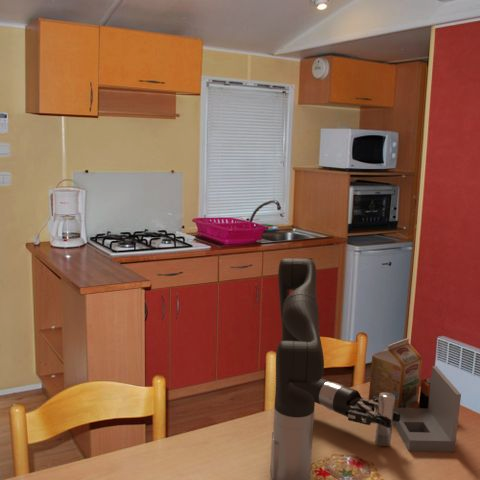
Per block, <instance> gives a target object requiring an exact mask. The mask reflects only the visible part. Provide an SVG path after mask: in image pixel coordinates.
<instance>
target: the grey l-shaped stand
mask: <svg viewBox="0 0 480 480" xmlns="http://www.w3.org/2000/svg"><path fill="white" fill-rule="evenodd" d="M430 379H431V384H430V394H429V403H428V409H425V408H419V407H418V408H417V407H414V408H413V407H407V408H394V412H397V413H399V414H400V421H399V422H396V421H393V426H394V427H395V429H396V431H397V432H398V434H399V436H400V438H401V440H402V442H403V443H404V446H405V447H406V449H407V450H408V452H434V453H435V452H437V453H438V452H440V453H441V452H442V453H443V452H444V453H445V452H446V453H455V451H456V443H457V442H456V441H457V433H458V426H459V425H458V423H459V416H460V415H459V414H460V409H461V407H460V405H461V401H462V400H461V397H462V393H461V392H460V391H459V390H458V389H457V388H456V387H455V386H454V385H453V384H452V382H451V381H450V380H449V379H448V378H447V377H446V376H445V374H444V373H443V372H442V370H440V368H439V367H438V366H435V365H433V366H432V368H431V377H430Z"/></svg>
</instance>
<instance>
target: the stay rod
mask: <svg viewBox="0 0 480 480" xmlns="http://www.w3.org/2000/svg"><path fill="white" fill-rule="evenodd" d="M394 404H395V396H394V395H393V394H391V393H387V392H383V393H380V394H379V404H378V415H381V416H384V417H386V418H389V419H391V427H389V428H387V427H385V426H382V425H380V424H378V423H376V426H375V427H376V428H375V439H374V440H375V441H374V442H375V444H377V445H379V446H383V447H387V446H390V445H391V443H392V436H393V435H392V434H393V426H394V424H393V414H394Z"/></svg>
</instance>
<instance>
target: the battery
mask: <svg viewBox="0 0 480 480" xmlns="http://www.w3.org/2000/svg"><path fill="white" fill-rule="evenodd" d="M430 384H431V378H427V379H421V380H420V389H419V399H418V408H425V409H428V403H429V394H430Z"/></svg>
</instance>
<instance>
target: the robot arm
mask: <svg viewBox="0 0 480 480" xmlns="http://www.w3.org/2000/svg"><path fill="white" fill-rule="evenodd" d="M316 267H317V266H316V264H315V262H314V260H312V259H308V258H282V259H281V260H280V262H279V264H278V269H277V270H278V271H277V273H278V274H277V277H278V279H277V281H278V282H277V283H278V284H277V285H278V297H279V298H278V299H279V307H280V308H279V309H280V318H281V319H280V320H281V341H280V342H279V343H278V345H277V346H276V351H275V396H274V397H275V398H274V411H273V428H272V429H273V431H272V432H271V446H270V447H271V448H270V465H269V467H270V475H271V476H270V477H271V480H310V478H311V471H312V450H313V435H314V420H315V406H316V405H315V403H316V404H318V405H320V406H323V407H324V408H326V409H328V410H330V411H332V412H334V413H338V414H339V415H342V416H344V417H346V418H347V421H349V422H354V423H358V424H363V425H367V426H371V424H373V425H377V423H378V424H380V425H382V426H385V427H387V428H389V427H391V419H389V418H386V417H384V416H381V415H378V404H379V398H378V397H376V396H374V397H373V400H370V399H369V398H366V397H365V398H364V397H362V396H361V393H360V392H359V391H358V390H356V389H354V388H351V387H348V386H345V385H344V384H340V383H337V382H334V381H330V380H327V379H324V378H323V376H324V369H325V358H324V352H323V346H322V341H321V336H320V313H319V304H318V303H319V302H318V298H317V297H318V296H317V274H318V273H317V268H316ZM291 290H292V291H291ZM290 291H291V292H290ZM393 421H396V422H399V421H400V414H399V413H397V412H394V414H393Z"/></svg>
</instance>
